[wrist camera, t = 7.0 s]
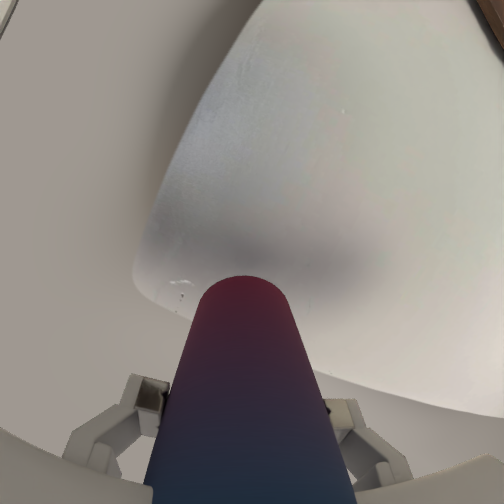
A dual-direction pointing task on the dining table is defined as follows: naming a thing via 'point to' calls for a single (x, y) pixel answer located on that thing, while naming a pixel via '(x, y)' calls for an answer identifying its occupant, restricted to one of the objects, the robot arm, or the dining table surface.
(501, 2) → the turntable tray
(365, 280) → the dining table surface
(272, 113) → the dining table surface
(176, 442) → the cup
